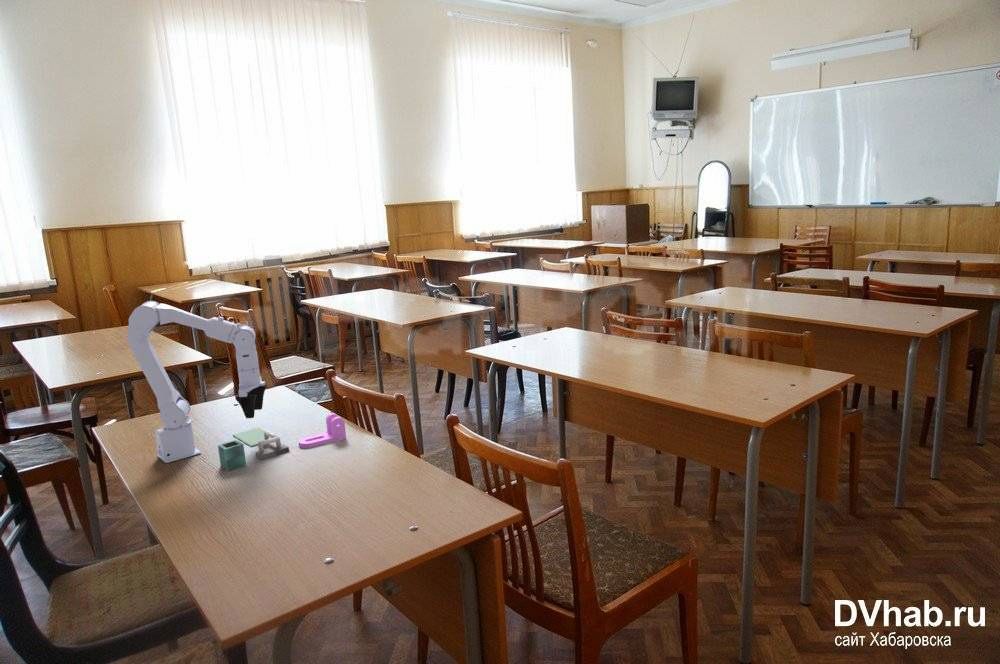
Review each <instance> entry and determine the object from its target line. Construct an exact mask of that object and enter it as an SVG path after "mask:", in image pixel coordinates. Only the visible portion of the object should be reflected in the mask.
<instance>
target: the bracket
mask: <svg viewBox="0 0 1000 664" xmlns="http://www.w3.org/2000/svg"><path fill="white" fill-rule="evenodd" d="M325 422H326V423H325V424H326V432H325V433H319V434H316V435H310V436H306V437H303V438H301V439H299V440H298V447H299V448H300V449H301V448H302V449H308V448H309V449H310V448H314V447H318V446H322V445H326V444H330V443H334V441H335V442H339V441H342V440H341V439H343V440H345V439H344V438H346V439H347V433H346V424H345V423H346V422H345V420H344V419H343V418H342V417H340V416H339V415H338V414H336V413H333V412H332V413H329V414H328V415H326V419H325ZM338 440H339V441H338Z"/></svg>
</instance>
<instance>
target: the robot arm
mask: <svg viewBox="0 0 1000 664" xmlns="http://www.w3.org/2000/svg"><path fill="white" fill-rule="evenodd" d="M169 323H176V324H179V325H183V326H187V327H190V328H194V329H198V330H202V331H203V332H204V333H205V334H206V337H208V338H212V339H215V340H218V341H221V342H224V343H228V344H233V346H234V347H235V352H236V354H235V359H236V365H237V373H238V381H239V384H238V394H236V395H235V398H234V399H235V401H237V402H238V405H239V406H240V408H241V410H242V411H243V415H244V417H245V419H254V417H255V411H260V410H261V411H262V409H263V406H264V405H263V404H264V396H265V391H266V388H267V383H266V381H265V380H264V381H263V378H262V376H261V373H260V372H261V371H260V364H259V356H258V351H257V345H256V342H255V341H256V332H255V330H254V329H253V328H252V327H251V326H249V325H247V324H241V323H239V322H237V323H235V322H230V321H229V320H225V319H224V317H223V316H218V317H216V316H213V317H211V318H204V317H202V316H199V315H196V314H194V313H191V312H189V311H187V310H186V311H185V310H184V309H180V308H178V307H176V306H172V305H171V304H170V305H169V304H166V303H159V302H157V301H154V300H149V301H145V302H143V303H142V304H141V305H140V306H138V307H136V308H134V310H132V312H131V314H130V315H129V318H128V325H127V326H128V327H127V328H128V329H127V333H126V334H127V335H126V342H127V344H128V346H129V348H130V350H131V352H132V354H133V356H134V358H135V359H136V361H137V363H138V365H139V367H140V369H141V370H142V372H143V375H144V376H145V378H146V381H147V382H148V384H149V385H150V386H149V387H151V390H152V391H153V394H154V395H155V398H156V400H157V401H156V402H157V408H158V410H159V413H160V417H159V419H160V422H161V423H162V427H161V428H159V429H156V430H155V431H154V437H155V438H154V439H155V444H156V450H157V451H156V452H157V457H158V458H159V459H160V460H161V461H162V462H164V463H165V464H168V463H172V462H174V461H178V460H183V459H186V458H189V457H193V456H196V455H200V454H202V453H201V452H202V451H200V450H199V449H198V448H197V447H196V443H195V437H194V430H193V424H192V419H190V418H189V416H188V415H189V414H190V411H191V406H190V403H189V401H188V400H186V399H185V398H184V397H183V396H182V395H181V393H180V392H179V391H178V390H177V389H176V388H175V387H174V385H173V382H172V381H171V379H170V377H169V375H168V373H167V371H166V369H165V367H164V365H163V364H162V361H161V359H160V358H159V355H158V353H157V352H156V349H155V348H154V345H153V344H152V342H151V340H150V338H151V335H152V333H153V331H154V329H155V327H156V326H157V325H158V324H160V326H162V325H164V324H169Z"/></svg>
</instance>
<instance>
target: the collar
mask: <svg viewBox="0 0 1000 664" xmlns="http://www.w3.org/2000/svg"><path fill="white" fill-rule="evenodd" d="M244 447H245V446H244V443H243V442H242V441H240V440H237V439H234V440H230V441H227V442H224V443H220V444H217V450H218V456H219V463H220V466H221V467H222V468H223V469H224V470H226V471H227V472H228V471H231V470H232V471H233V470H235V469H238V468H241V467H244V466H247V461H246V454H245V453H246V452H245V448H244Z"/></svg>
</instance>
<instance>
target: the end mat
mask: <svg viewBox="0 0 1000 664" xmlns="http://www.w3.org/2000/svg"><path fill="white" fill-rule="evenodd" d="M264 431H265V430H264V429H262V428H260V427H255V428H253V429H252V428H251V429H248V430H244V431H242V432H241V431H240V432H237V433H233V434H232V437H234V438H236V440H237V439H238V441H240V442H241V443H243V444H246V445H248V446H249V447H250V448H252V447H256V446H258V444H259V443H258V441H262V440H265V438H264ZM269 438H271V437H269Z"/></svg>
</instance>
